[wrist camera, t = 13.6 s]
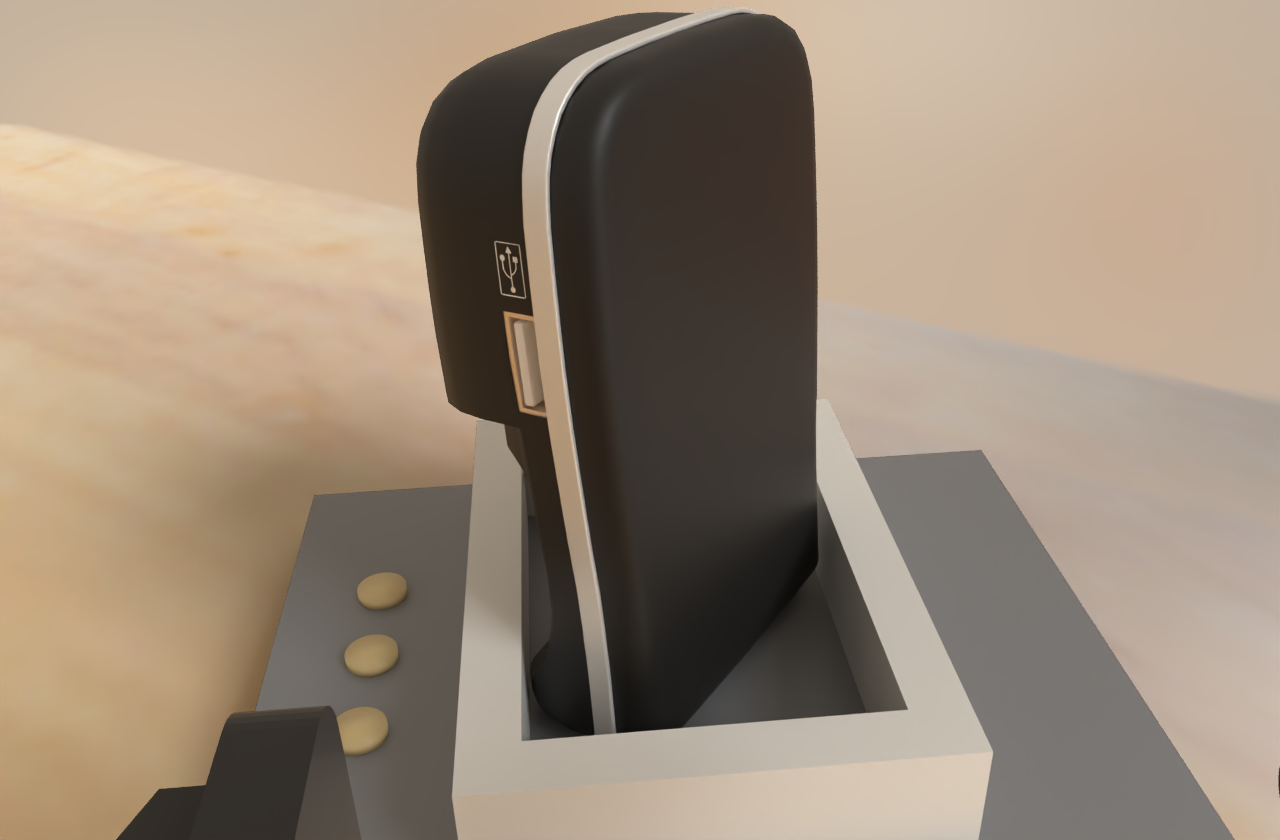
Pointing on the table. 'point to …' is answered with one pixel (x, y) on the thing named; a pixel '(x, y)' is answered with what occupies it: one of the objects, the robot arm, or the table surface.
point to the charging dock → (733, 678)
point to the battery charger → (639, 336)
